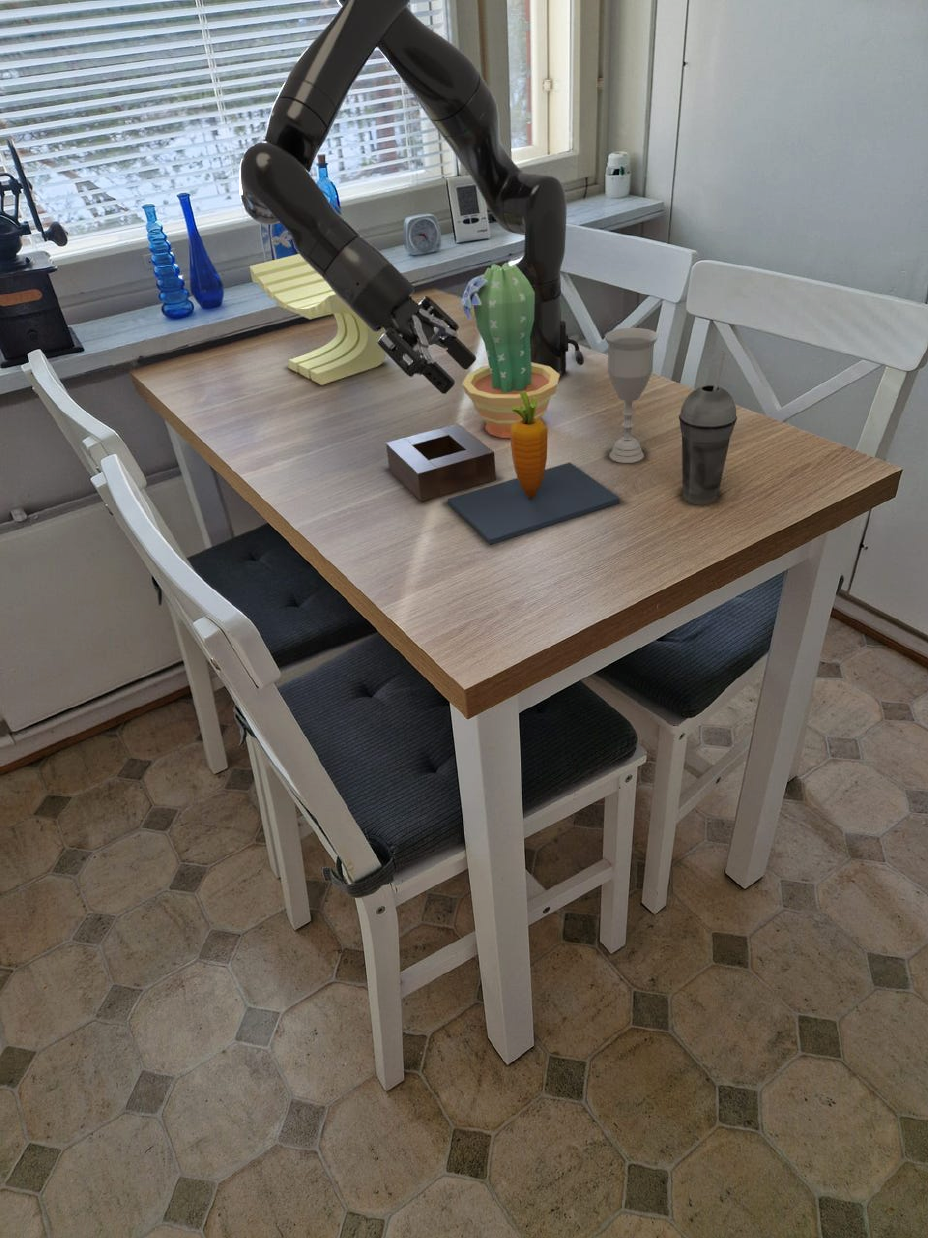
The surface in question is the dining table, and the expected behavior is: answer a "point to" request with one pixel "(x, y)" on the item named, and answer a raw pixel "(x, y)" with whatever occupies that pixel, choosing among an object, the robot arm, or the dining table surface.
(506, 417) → the potted cactus
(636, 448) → the chalice
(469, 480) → the stand
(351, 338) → the slatted curved stool
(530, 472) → the carrot
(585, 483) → the mat
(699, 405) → the beverage cup
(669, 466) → the dining table surface
